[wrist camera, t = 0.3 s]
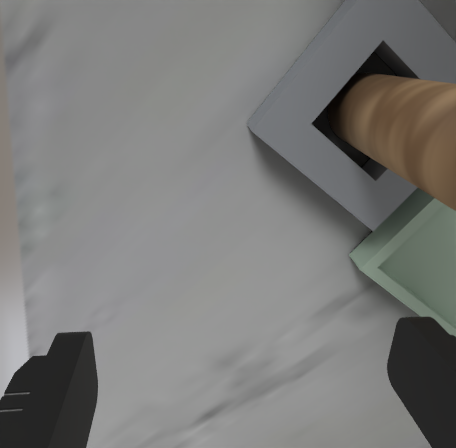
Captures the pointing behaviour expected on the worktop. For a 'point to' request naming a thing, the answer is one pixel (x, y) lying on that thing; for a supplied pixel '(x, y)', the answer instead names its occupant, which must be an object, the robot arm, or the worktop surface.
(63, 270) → the worktop surface
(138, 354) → the worktop surface
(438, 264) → the tray
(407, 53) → the socket block
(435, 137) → the dowel
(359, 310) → the worktop surface
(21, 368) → the robot arm
